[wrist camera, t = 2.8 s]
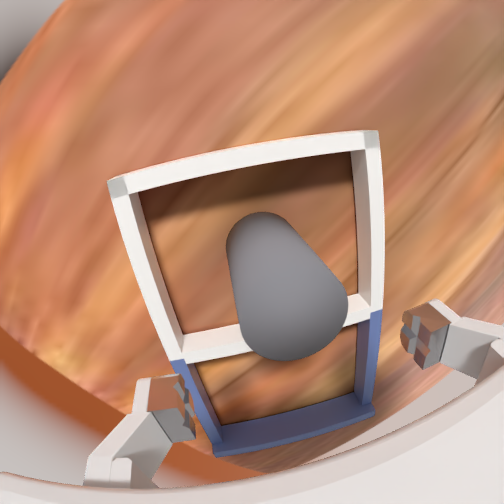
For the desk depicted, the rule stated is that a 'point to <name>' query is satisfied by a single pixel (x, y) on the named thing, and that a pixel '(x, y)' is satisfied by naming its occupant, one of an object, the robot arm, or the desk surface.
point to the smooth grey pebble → (282, 289)
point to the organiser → (230, 338)
